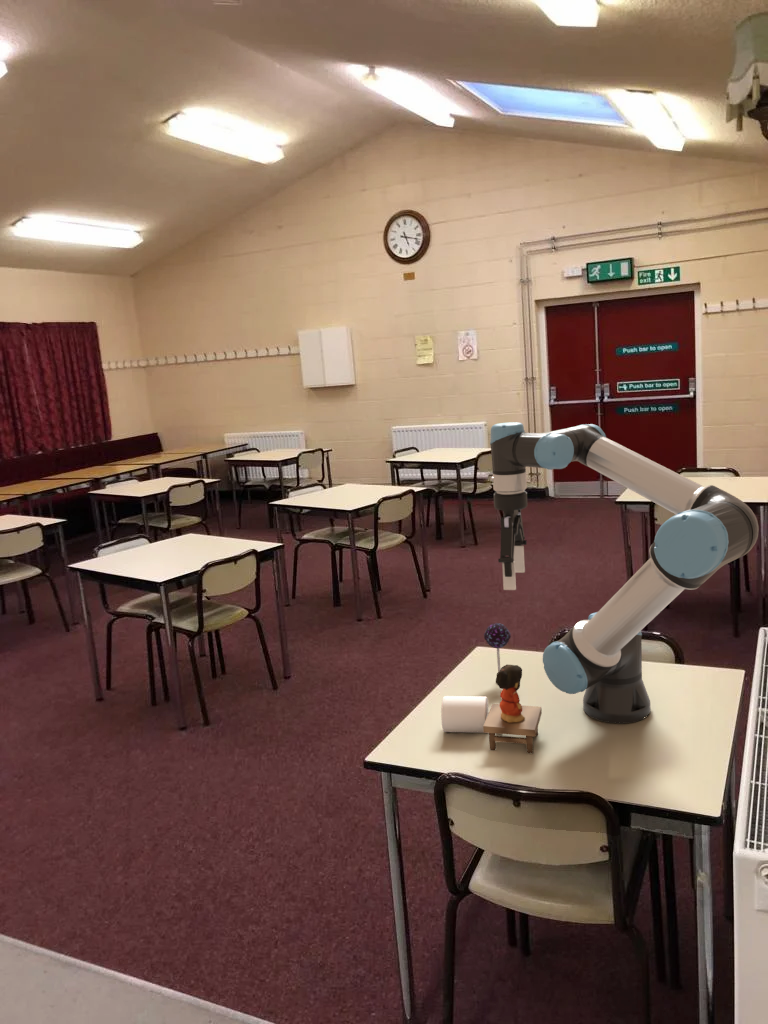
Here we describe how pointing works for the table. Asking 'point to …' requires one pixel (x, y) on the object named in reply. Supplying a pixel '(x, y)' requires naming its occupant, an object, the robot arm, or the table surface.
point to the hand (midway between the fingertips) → (514, 580)
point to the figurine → (510, 693)
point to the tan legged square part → (513, 727)
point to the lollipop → (497, 637)
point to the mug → (464, 713)
